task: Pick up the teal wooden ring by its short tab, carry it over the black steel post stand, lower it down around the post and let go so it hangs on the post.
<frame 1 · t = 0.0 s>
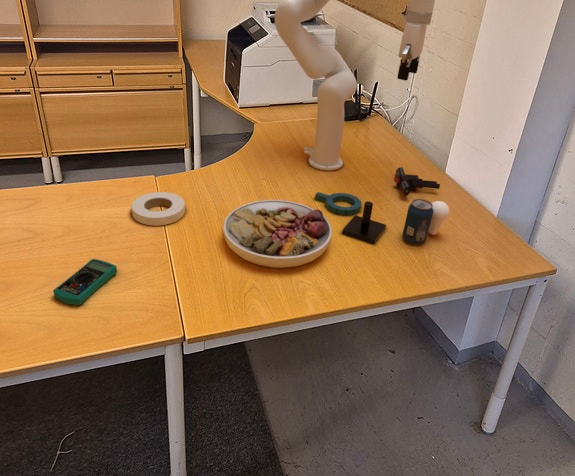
hand: (407, 75, 162), 37 cm above the table, tool pointing down, fingers open, 9 cm apart
lightbulb: (432, 235, 154), on the table
tape roll: (159, 212, 155), on the table
black plastic t-shaped piece: (414, 189, 179), on the table
ring: (343, 206, 165), on the table
bowl: (276, 241, 146), on the table
ring stand: (364, 231, 153), on the table
digital multimeter: (87, 286, 125), on the table
soda can: (413, 240, 151), on the table
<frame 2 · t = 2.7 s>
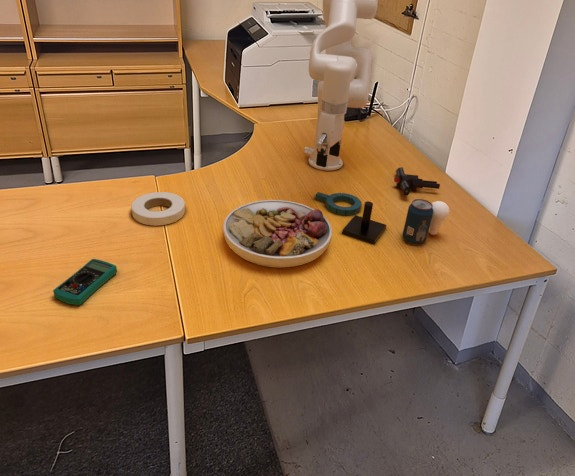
hand: (327, 160, 160), 14 cm above the table, tool pointing down, fingers open, 9 cm apart
nothing on the table moved.
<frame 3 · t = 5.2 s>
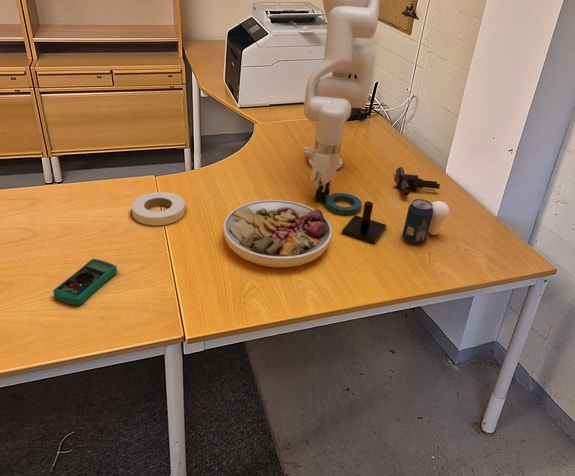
hand: (321, 199, 167), 0 cm above the table, tool pointing down, fingers closed on ring, 2 cm apart
ring: (343, 206, 165), on the table, touching gripper
everything else where it was.
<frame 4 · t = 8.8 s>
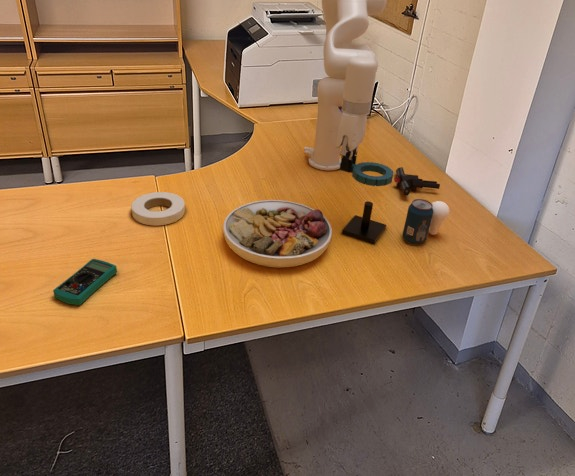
hand: (347, 169, 146), 18 cm above the table, tool pointing down, fingers closed on ring
ring: (372, 177, 144), point 18 cm above the table, touching gripper
everything else where it was.
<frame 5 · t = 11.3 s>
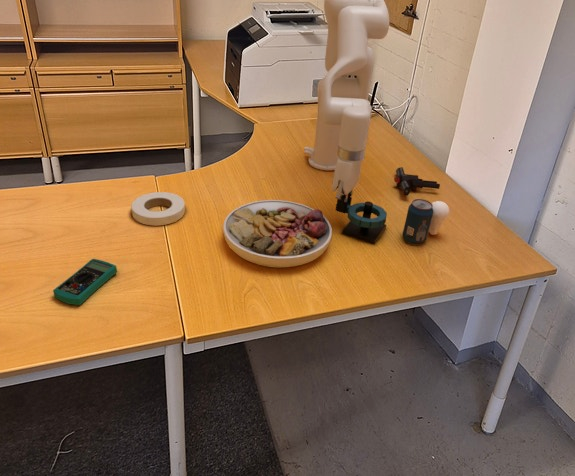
hand: (342, 209, 153), 5 cm above the table, tool pointing down, fingers closed on ring
ring: (366, 217, 150), point 5 cm above the table, touching gripper
everything else where it was.
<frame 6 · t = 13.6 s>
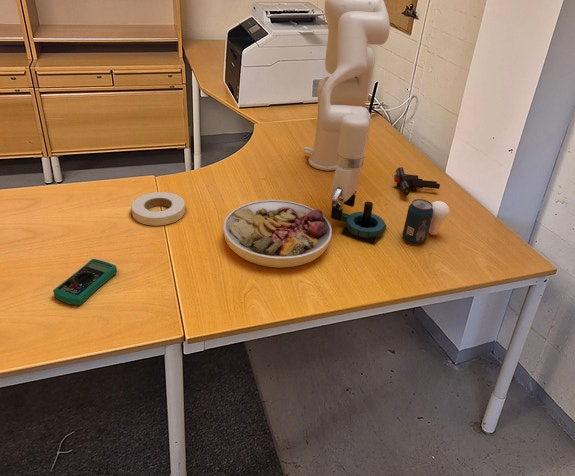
hand: (342, 212, 154), 4 cm above the table, tool pointing down, fingers open, 9 cm apart
ring: (364, 227, 152), point 1 cm above the table, touching ring stand
everything else where it was.
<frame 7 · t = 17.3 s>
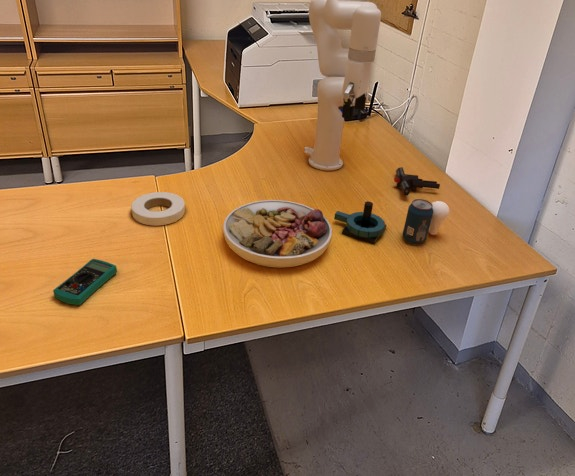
hand: (353, 113, 155), 28 cm above the table, tool pointing down, fingers open, 9 cm apart
nothing on the table moved.
at the end: ring 0.1 cm from the ring stand (horizontally); ring point 1.5 cm above the table; the gripper is holding nothing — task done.
